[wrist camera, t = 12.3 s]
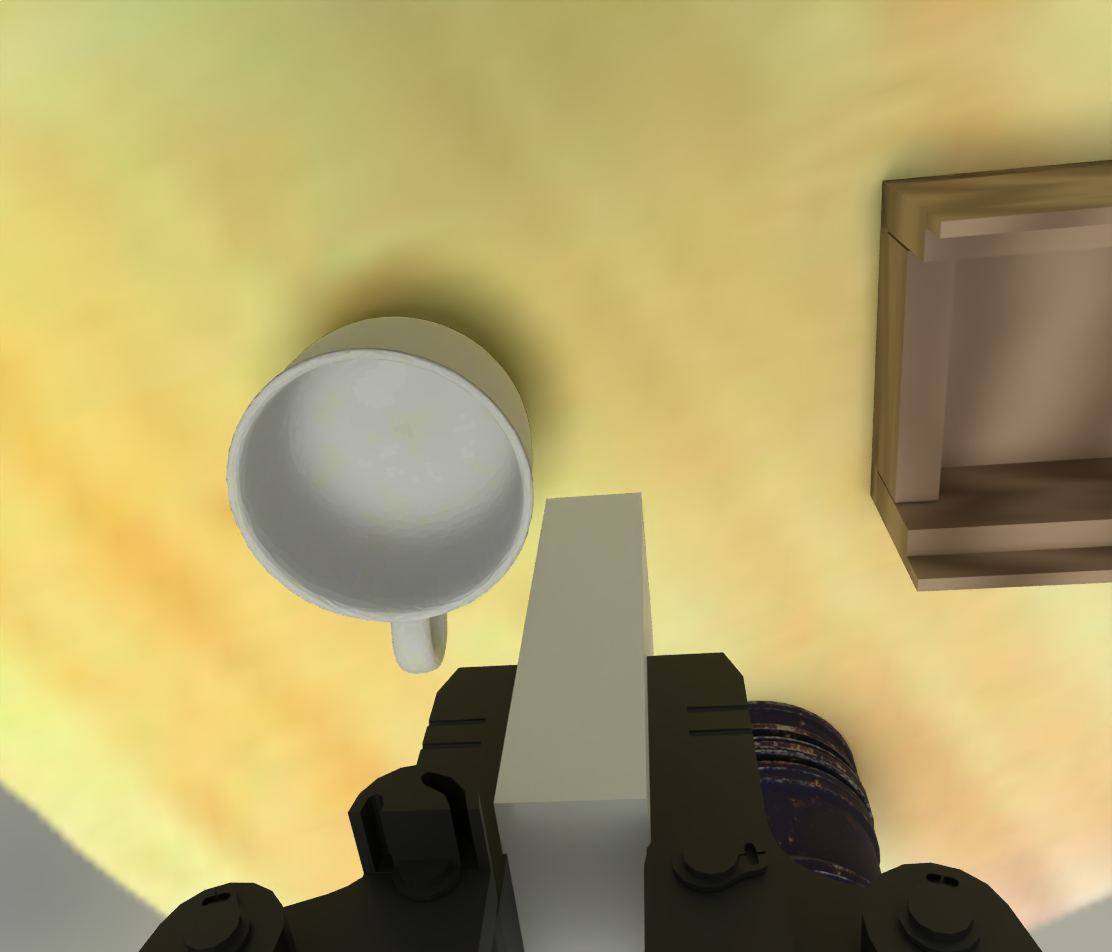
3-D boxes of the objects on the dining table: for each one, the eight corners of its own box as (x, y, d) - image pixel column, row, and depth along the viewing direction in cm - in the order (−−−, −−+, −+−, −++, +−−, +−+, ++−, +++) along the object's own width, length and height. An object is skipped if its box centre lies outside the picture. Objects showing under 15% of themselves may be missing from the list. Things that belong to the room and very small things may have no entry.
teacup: (291, 277, 39) (214, 337, 32) (559, 304, 39) (543, 372, 32) (301, 572, 45) (238, 679, 38) (533, 598, 45) (514, 710, 38)
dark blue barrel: (638, 715, 48) (640, 995, 34) (843, 682, 46) (930, 963, 32) (679, 863, 52) (696, 1165, 38) (869, 838, 50) (957, 1144, 36)
